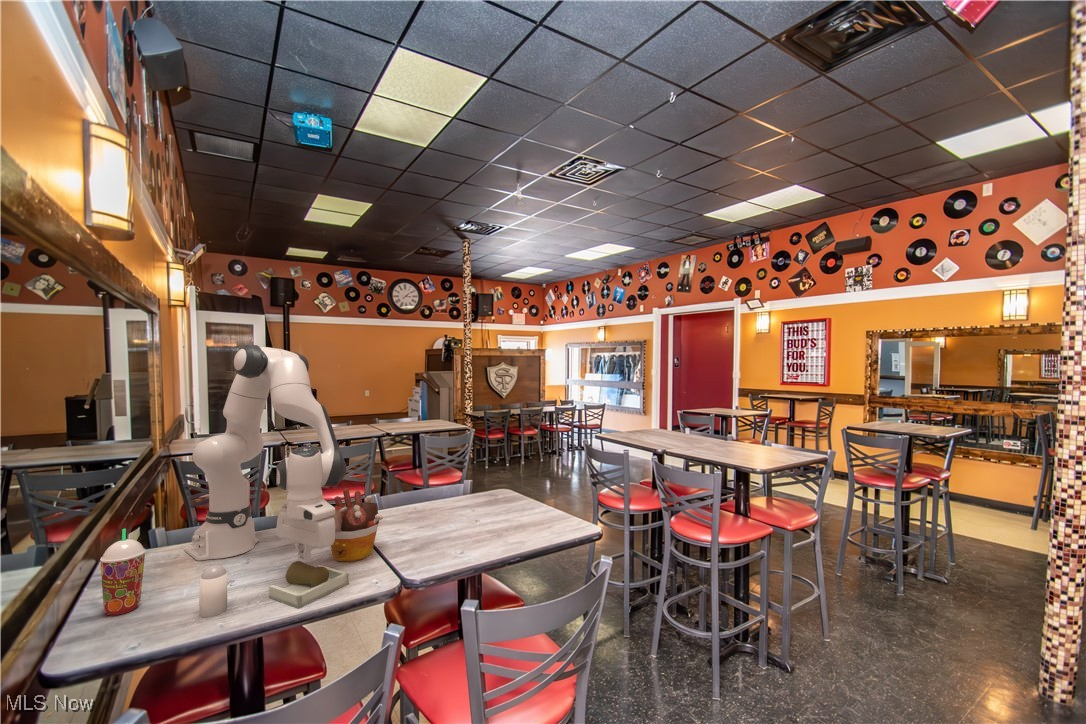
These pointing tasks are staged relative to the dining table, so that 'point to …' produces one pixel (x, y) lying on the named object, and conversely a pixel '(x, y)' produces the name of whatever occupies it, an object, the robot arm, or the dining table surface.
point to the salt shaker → (213, 591)
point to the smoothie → (122, 575)
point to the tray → (309, 589)
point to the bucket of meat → (354, 527)
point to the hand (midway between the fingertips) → (304, 558)
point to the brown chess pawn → (306, 574)
